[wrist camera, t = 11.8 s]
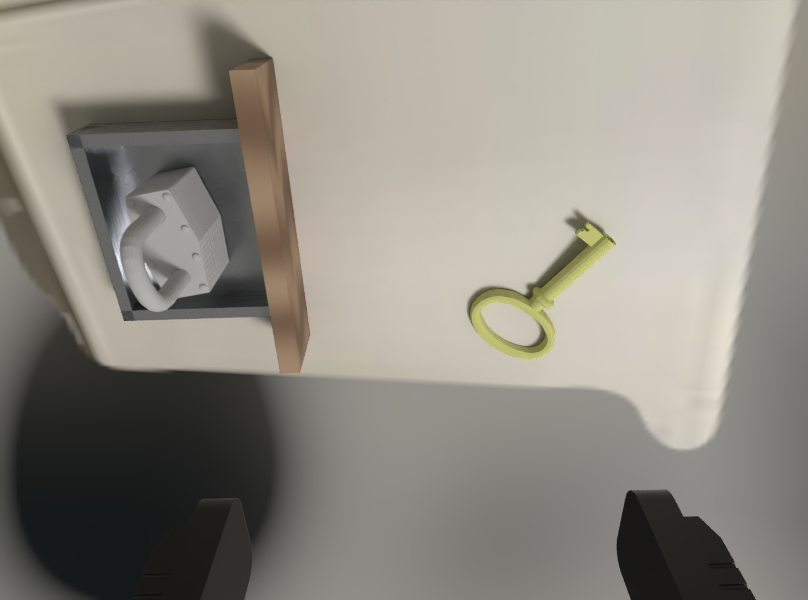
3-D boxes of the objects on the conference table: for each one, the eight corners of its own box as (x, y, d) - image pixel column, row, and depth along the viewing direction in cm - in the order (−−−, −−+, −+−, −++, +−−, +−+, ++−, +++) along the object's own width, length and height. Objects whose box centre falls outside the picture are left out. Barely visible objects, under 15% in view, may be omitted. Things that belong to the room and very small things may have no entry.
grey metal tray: (89, 124, 38) (66, 135, 35) (259, 118, 38) (248, 128, 35) (140, 300, 44) (123, 320, 41) (286, 295, 44) (278, 316, 41)
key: (614, 225, 42) (623, 236, 40) (538, 359, 47) (543, 375, 45) (522, 192, 40) (527, 202, 39) (455, 334, 46) (457, 349, 44)
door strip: (250, 59, 36) (228, 70, 32) (272, 58, 36) (254, 69, 32) (292, 335, 46) (280, 373, 41) (310, 334, 46) (299, 372, 41)
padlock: (145, 174, 39) (70, 231, 30) (203, 163, 39) (144, 217, 30) (184, 269, 42) (127, 345, 33) (238, 259, 42) (193, 334, 33)
